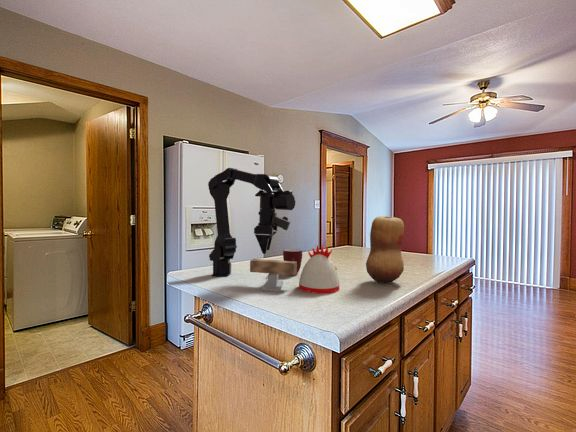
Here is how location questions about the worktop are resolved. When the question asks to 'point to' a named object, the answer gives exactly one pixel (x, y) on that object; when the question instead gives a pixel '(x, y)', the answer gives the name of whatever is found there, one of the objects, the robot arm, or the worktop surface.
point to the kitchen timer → (319, 273)
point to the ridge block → (272, 283)
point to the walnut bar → (273, 266)
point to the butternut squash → (385, 249)
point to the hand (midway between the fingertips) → (266, 251)
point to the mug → (293, 256)
